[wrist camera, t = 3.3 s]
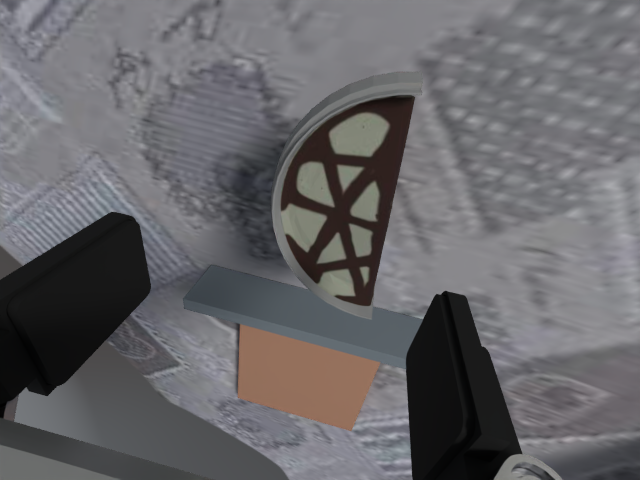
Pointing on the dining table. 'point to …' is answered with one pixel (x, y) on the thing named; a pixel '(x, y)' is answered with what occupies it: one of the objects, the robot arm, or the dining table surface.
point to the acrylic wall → (301, 315)
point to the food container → (343, 187)
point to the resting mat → (302, 377)
